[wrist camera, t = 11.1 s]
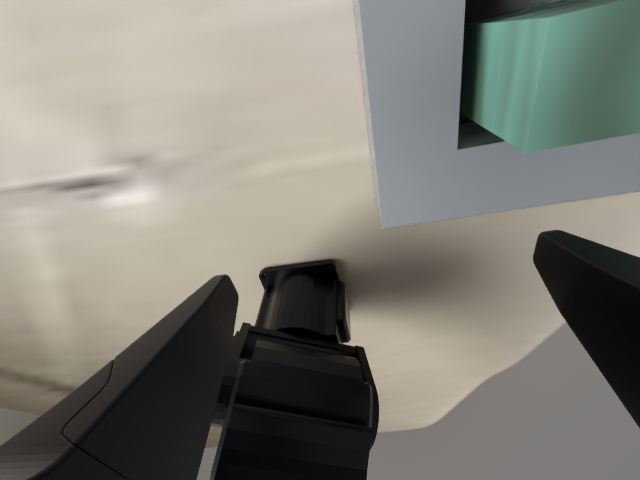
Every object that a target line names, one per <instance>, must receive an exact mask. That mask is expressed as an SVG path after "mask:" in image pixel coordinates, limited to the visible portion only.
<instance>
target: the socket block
mask: <svg viewBox="0 0 640 480" xmlns="http://www.w3.org/2000/svg"><path fill="white" fill-rule="evenodd" d="M565 1H568V0H565ZM353 5H354V14H355V23H356V32H357V41H358V50H359V59H360V67H361V76H362V85H363V94H364V103H365V112H366V121H367V129H368V138H369V147H370V156H371V165H372V174H373V183H374V191H375V199H376V204H377V208H378V212H379V216H380V220H381V224H382V228H383V229H387V228H394V227H400V226H407V225H414V224H421V223H428V222H435V221H441V220H448V219H455V218H462V217H469V216H475V215H482V214H489V213H496V212H503V211H510V210H516V209H523V208H530V207H537V206H544V205H551V204H557V203H564V202H571V201H578V200H585V199H592V198H598V197H605V196H612V195H619V194H626V193H632V192H639V191H640V133H637V134H631V135H625V136H620V137H614V138H609V139H603V140H597V141H592V142H586V143H581V144H575V145H569V146H564V147H558V148H552V149H547V150H541V151H536V152H530V153H524V152H523V151H521V150H519V149H518V148H516V147H515V146H513V145H511V144H510V143H508V142H506V141H505V140H503V139H502V138H500V137H498V136H497V135H495V134H493V133H492V132H490V131H489V130H487V129H485V128H484V127H482V126H480V125H479V124H477V123H476V122H470V123H465V124H460V125H459V110H460V91H461V73H462V55H463V36H464V18H465V0H353Z"/></svg>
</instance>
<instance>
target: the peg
mask: <svg viewBox="0 0 640 480" xmlns="http://www.w3.org/2000/svg"><path fill="white" fill-rule="evenodd" d="M459 113H461V114H463V115H464V116H466V117H467V118H469V119H471V120H472V121H474V122H476V123H477V124H479V125H480V126H482V127H484V128H485V129H487V130H489V131H490V132H492V133H493V134H495V135H497V136H498V137H500V138H502V139H503V140H505V141H506V142H508V143H510V144H511V145H513V146H515V147H516V148H518V149H519V150H521V151H523V152H524V153H530V152H536V151H541V150H547V149H552V148H558V147H564V146H569V145H575V144H581V143H586V142H592V141H597V140H603V139H609V138H614V137H620V136H625V135H631V134H637V133H640V0H568V1H561V2H555V3H549V4H542V5H538V6H534V7H530V8H526V9H522V10H518V11H514V12H510V13H506V14H502V15H498V16H494V17H490V18H486V19H482V20H478V21H474V22H470V23H466V24H464V36H463V55H462V73H461V91H460V110H459Z"/></svg>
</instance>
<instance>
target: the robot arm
mask: <svg viewBox="0 0 640 480" xmlns="http://www.w3.org/2000/svg"><path fill="white" fill-rule="evenodd" d="M533 261H534V264H535V267H536V268H537V270H538V272H539V274H540V276H541V278H542V280H543V282H544V284H545V285H546V287H547V289H548V291H549V293H550V295H551V297H552V299H553V301H554V302H555V304H556V306H557V308H558V310H559V311H560V313H561V314H562V316H563V317H564V319H565V321H566V322H567V323H568V325H569V326H570V328H571V329H572V331H573V332H574V334H575V335H576V337H577V338H578V339H579V341H580V342H581V344H582V345H583V347H584V348H585V350H586V351H587V353H588V354H589V355H590V357H591V358H592V360H593V361H594V363H595V364H596V366H597V367H598V368H599V370H600V371H601V373H602V374H603V376H604V377H605V379H606V380H607V382H608V383H609V385H610V386H611V387H612V389H613V390H614V392H615V393H616V395H617V396H618V398H619V399H620V400H621V402H622V403H623V405H624V406H625V408H626V409H627V411H628V412H629V414H630V415H631V416H632V418H633V419H634V421H635V422H636V424H637V425H638V427H639V428H640V258H639V257H636V256H633V255H630V254H628V253H625V252H622V251H619V250H616V249H613V248H610V247H607V246H604V245H601V244H598V243H595V242H593V241H590V240H587V239H584V238H581V237H578V236H575V235H572V234H569V233H566V232H563V231H560V230H553V231H545V232H542V233H540V234H539V236H538V239H537V243H536V247H535V251H534V255H533ZM327 266H332V267H331V268H329V267H327ZM264 274H265V275H267V276H265V275H264ZM259 278H260V280H261V283H262V285H263V287H264V290H265V291H264V295H263V299H262V302H261V306H260V309H259V313H258V316H257V320H256V323H255V326H252V325H251V324H249V323H244V322H243V324H242V327H241V329H240V332H239V331H237V332H236V335H235V336H233V333H234V327H235V320H236V313H237V306H238V293H237V291H236V289H235V287H234V285H233V283H232V281H231V279H230V277H229V276H228V275H217V276H214V277H213V278H211V279H210V280H209V281H208V282H206V283H205V284H204V285H203V286H202V287H200V288H199V289H198V290H197V291H196V292H194V293H193V294H192V295H191V296H189V297H188V298H187V299H186V300H185V301H183V302H182V303H181V304H180V305H178V306H177V307H176V308H175V309H174V310H172V311H171V312H170V313H169V314H168V315H166V316H165V317H164V318H163V319H161V320H160V321H159V322H158V323H157V324H155V325H154V326H153V327H152V328H150V329H149V330H148V331H147V332H146V333H144V334H143V335H142V336H141V337H140V338H138V339H137V340H136V341H135V342H133V343H132V344H131V345H130V346H129V347H127V348H126V349H125V350H124V351H122V352H121V353H120V354H119V355H118V356H116V357H115V359H114V360H111V361H110V362H109V363H108V364H107V365H105V366H104V367H103V368H102V369H101V370H99V371H98V372H97V373H96V374H94V375H93V376H92V377H91V378H89V379H88V380H87V381H86V382H84V383H83V384H82V385H81V386H79V387H78V388H77V389H75V390H74V391H73V392H71V393H70V394H69V395H67V396H66V397H65V398H64V399H62V400H61V401H60V402H58V403H57V404H56V405H54V406H53V407H52V408H50V409H49V410H48V411H46V412H45V413H44V414H42V415H41V416H40V417H38V418H37V419H36V420H34V421H33V422H32V423H30V424H29V425H27V426H26V427H25V428H23V429H22V430H21V431H19V432H18V433H17V434H15V435H14V436H13V437H11V438H10V439H9V440H7V441H6V442H5V443H3V444H2V445H1V446H0V480H196V478H197V475H198V471H199V467H200V463H201V460H202V456H203V452H204V448H205V444H206V441H207V437H208V433H209V429H210V425H211V426H215V427H223V429H222V432H221V436H220V440H219V444H218V448H217V452H216V456H215V459H214V463H213V467H212V471H211V476H210V480H366V479H367V467H368V459H369V451H370V449H371V448H372V446H373V444H374V441H375V438H376V434H377V429H378V422H379V401H378V394H377V390H376V386H375V383H374V380H373V377H372V373H371V370H370V367H369V364H368V360H367V357H366V354H365V351H364V348H363V347H361V346H355V347H354V346H349V345H344V344H343V343H347V342H349V341H350V340H351V334H350V313H349V300H348V296H347V291H346V287H345V283H344V282H343V281H339V276H338V272H337V268H336V264H335V262H333V261H330V260H328V261H321V262H313V263H306V264H298V265H291V266H284V267H276V268H269V269H263V270H261V271H260V274H259Z"/></svg>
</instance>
